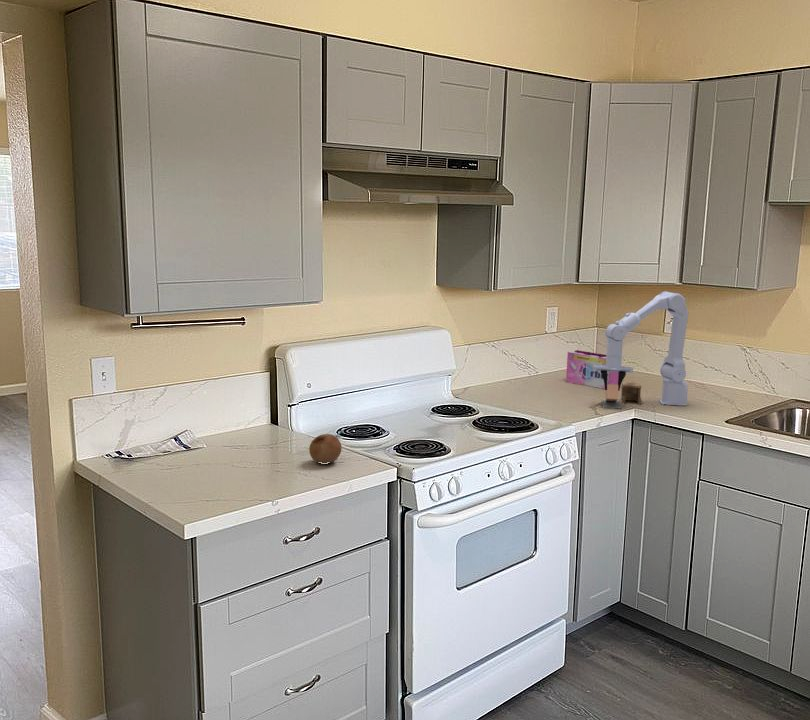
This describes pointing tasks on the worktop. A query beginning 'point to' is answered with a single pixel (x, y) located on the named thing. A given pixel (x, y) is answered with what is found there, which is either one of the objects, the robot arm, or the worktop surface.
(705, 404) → the worktop surface
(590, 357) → the gum box
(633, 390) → the cubby
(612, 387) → the block
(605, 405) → the pad
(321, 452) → the onion
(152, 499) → the worktop surface
